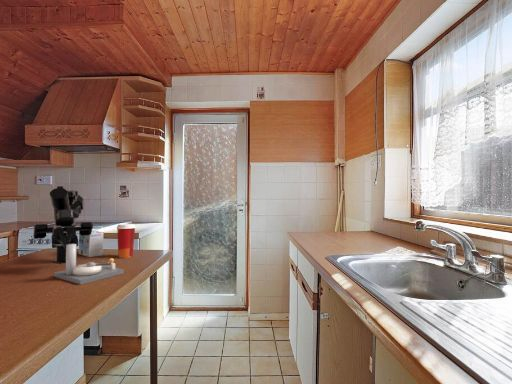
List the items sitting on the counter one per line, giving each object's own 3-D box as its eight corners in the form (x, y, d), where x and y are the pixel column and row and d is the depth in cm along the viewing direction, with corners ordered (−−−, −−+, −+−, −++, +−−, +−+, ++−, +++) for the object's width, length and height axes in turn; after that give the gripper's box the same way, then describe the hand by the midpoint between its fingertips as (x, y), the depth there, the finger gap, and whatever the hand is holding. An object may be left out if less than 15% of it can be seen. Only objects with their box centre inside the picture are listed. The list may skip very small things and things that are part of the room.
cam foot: (110, 267, 112) (111, 240, 112) (110, 273, 104) (111, 244, 104) (67, 270, 106) (68, 242, 106) (63, 277, 98) (64, 247, 98)
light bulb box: (78, 254, 141) (78, 231, 141) (92, 251, 146) (93, 230, 146) (89, 257, 135) (89, 233, 135) (103, 255, 140) (104, 232, 140)
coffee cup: (128, 254, 143) (129, 223, 143) (138, 256, 138) (139, 224, 138) (111, 256, 137) (112, 224, 136) (121, 259, 132) (122, 225, 132)
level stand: (54, 276, 104) (54, 261, 104) (97, 267, 118) (97, 254, 118) (80, 284, 97) (80, 268, 97) (123, 273, 111) (123, 259, 111)
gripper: (34, 201, 107) (36, 236, 99) (92, 201, 119) (98, 232, 111) (32, 221, 113) (34, 255, 105) (88, 219, 125) (93, 250, 117)
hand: (66, 247), depth 109 cm, fingers closed
